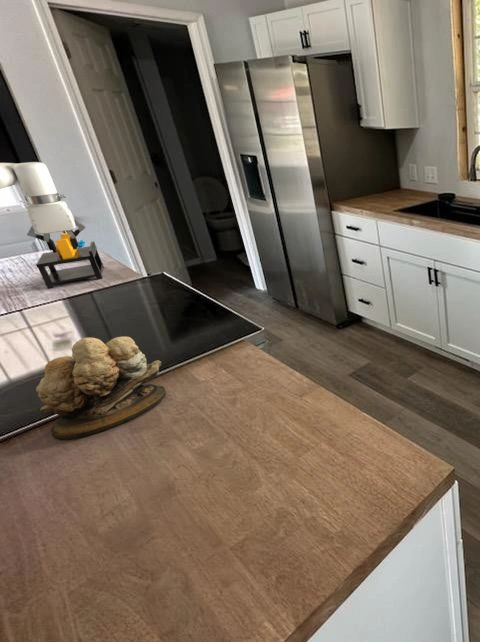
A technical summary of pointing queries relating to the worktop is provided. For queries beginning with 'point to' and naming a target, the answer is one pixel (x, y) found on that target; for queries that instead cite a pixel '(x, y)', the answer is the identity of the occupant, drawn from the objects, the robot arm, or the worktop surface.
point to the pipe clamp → (65, 247)
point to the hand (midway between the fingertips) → (65, 249)
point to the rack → (70, 273)
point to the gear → (81, 244)
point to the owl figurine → (98, 387)
